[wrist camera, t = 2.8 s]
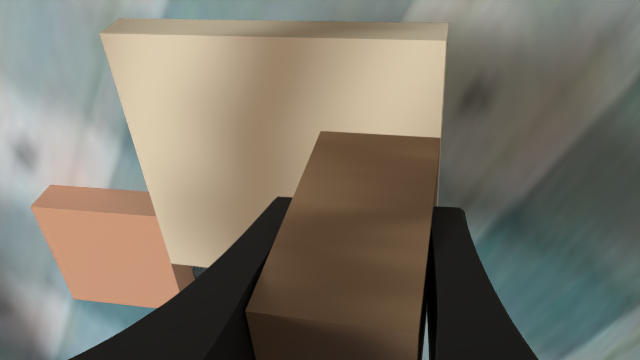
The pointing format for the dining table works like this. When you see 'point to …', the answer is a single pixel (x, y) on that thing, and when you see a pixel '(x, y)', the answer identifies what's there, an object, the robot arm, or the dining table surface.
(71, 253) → the tile
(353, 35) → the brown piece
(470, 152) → the dining table surface
